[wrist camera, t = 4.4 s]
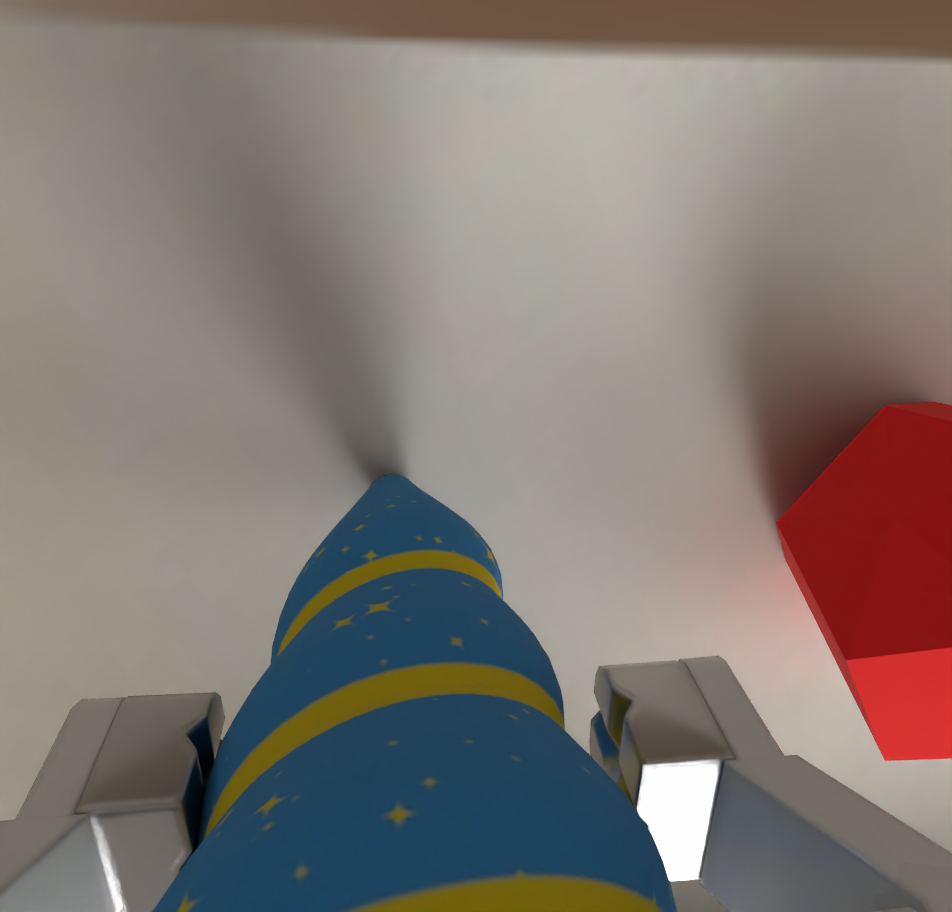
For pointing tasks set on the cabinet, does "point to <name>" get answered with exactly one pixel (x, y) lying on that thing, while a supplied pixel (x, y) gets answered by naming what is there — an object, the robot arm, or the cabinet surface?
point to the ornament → (411, 747)
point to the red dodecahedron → (885, 573)
